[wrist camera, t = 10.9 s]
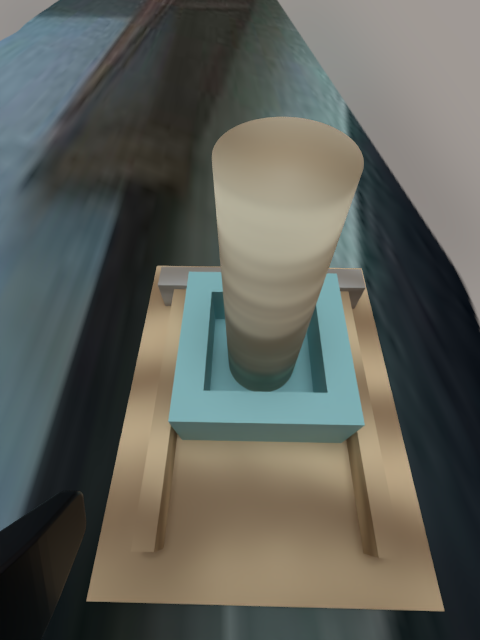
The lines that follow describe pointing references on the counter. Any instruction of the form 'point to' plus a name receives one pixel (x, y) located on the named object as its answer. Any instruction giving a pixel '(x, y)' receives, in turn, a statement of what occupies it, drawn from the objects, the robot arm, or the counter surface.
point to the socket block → (263, 407)
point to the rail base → (261, 494)
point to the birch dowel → (278, 236)
